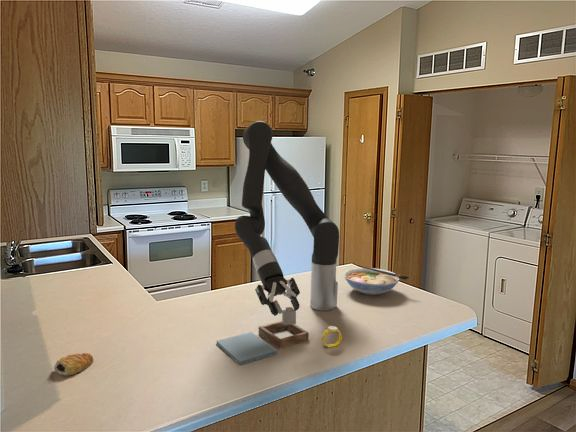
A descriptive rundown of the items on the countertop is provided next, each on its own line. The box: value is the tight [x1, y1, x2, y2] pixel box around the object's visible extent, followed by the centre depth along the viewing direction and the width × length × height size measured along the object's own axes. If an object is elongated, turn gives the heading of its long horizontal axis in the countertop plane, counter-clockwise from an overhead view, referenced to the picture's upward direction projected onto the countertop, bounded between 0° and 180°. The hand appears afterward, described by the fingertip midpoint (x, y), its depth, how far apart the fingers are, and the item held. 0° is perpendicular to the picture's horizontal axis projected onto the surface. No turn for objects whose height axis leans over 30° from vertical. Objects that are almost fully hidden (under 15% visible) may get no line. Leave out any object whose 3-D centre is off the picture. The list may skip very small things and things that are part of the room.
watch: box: [321, 325, 343, 348], centre depth 132 cm, size 6×3×6 cm, turn 107°
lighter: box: [273, 299, 297, 325], centre depth 137 cm, size 7×2×8 cm, turn 103°
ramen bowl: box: [343, 265, 409, 296], centre depth 181 cm, size 25×23×8 cm
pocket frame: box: [258, 320, 310, 349], centre depth 138 cm, size 11×12×2 cm
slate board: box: [216, 331, 278, 366], centre depth 130 cm, size 12×15×1 cm
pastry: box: [53, 352, 94, 377], centre depth 117 cm, size 9×7×4 cm
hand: (287, 311), depth 136 cm, fingers closed on lighter, 7 cm apart
